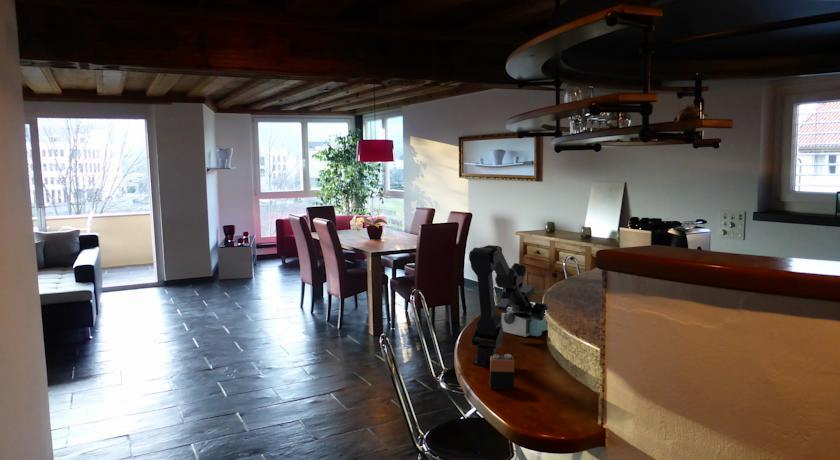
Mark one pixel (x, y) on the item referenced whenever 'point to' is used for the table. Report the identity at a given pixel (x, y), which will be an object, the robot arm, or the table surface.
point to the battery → (502, 372)
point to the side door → (537, 327)
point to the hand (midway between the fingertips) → (530, 320)
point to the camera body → (515, 324)
